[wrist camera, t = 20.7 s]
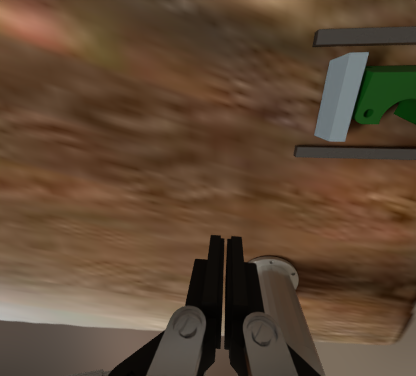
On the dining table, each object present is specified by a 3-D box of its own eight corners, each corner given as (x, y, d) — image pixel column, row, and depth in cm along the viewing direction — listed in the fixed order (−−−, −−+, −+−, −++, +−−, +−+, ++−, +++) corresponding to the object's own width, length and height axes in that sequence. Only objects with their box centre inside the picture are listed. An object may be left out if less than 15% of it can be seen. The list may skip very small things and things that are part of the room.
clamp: (338, 105, 33) (337, 122, 27) (353, 63, 30) (355, 71, 24) (432, 114, 29) (457, 137, 22) (464, 65, 25) (504, 77, 19)
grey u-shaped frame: (424, 158, 31) (458, 167, 27) (293, 155, 33) (304, 163, 28) (482, 27, 25) (540, 10, 20) (315, 32, 26) (333, 18, 22)
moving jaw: (327, 135, 31) (344, 141, 26) (314, 135, 31) (328, 141, 27) (345, 60, 27) (368, 52, 22) (329, 60, 27) (350, 52, 23)
